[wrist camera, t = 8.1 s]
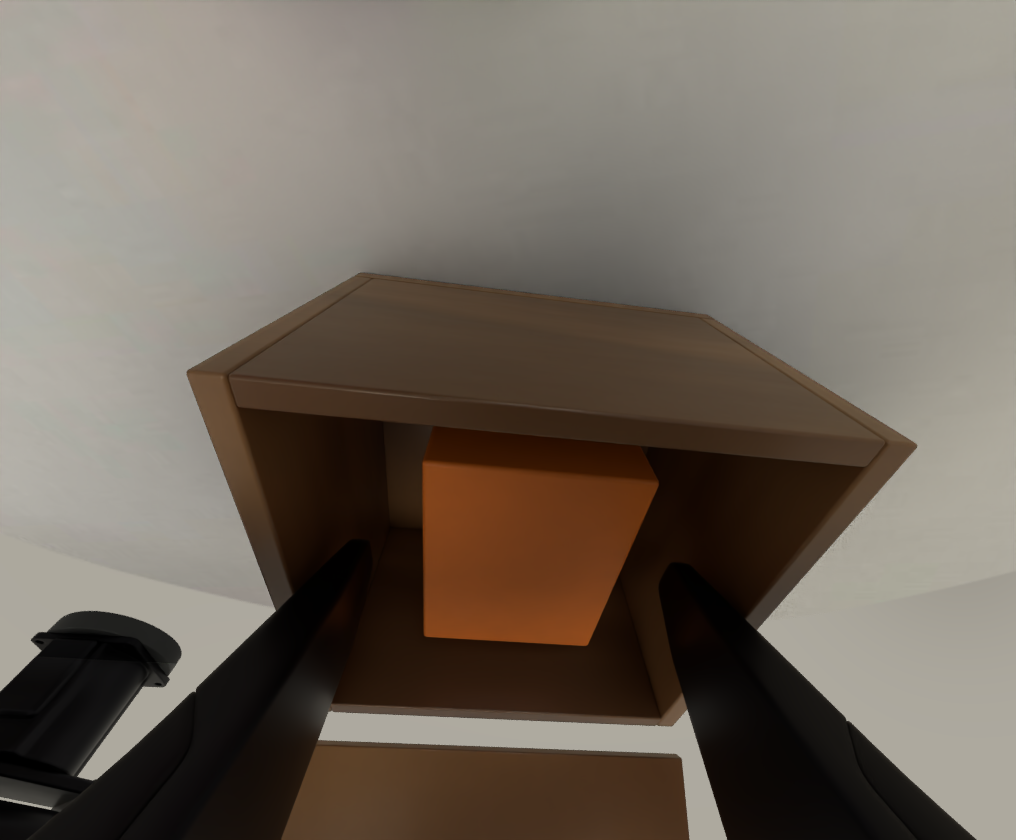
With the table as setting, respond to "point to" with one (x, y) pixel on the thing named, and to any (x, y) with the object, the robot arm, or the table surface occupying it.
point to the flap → (487, 794)
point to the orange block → (526, 533)
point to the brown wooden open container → (538, 412)
